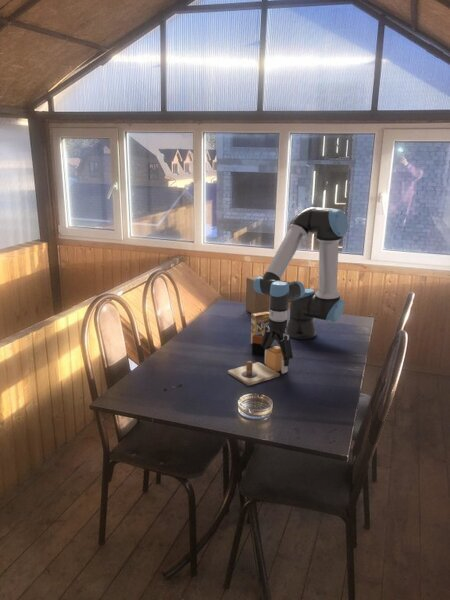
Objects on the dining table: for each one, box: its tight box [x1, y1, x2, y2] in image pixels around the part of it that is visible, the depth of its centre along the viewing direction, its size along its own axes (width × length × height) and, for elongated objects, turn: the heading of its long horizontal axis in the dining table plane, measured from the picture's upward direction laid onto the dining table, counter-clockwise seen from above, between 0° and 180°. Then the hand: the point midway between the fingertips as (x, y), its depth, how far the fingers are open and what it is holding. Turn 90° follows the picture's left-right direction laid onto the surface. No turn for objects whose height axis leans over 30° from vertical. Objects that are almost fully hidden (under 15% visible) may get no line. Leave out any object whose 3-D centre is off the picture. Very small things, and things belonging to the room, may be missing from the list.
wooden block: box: [245, 275, 270, 314], centre depth 284 cm, size 10×10×20 cm
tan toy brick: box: [265, 345, 283, 373], centre depth 211 cm, size 6×6×9 cm
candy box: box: [250, 311, 270, 345], centre depth 237 cm, size 9×4×15 cm, turn 116°
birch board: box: [227, 360, 280, 387], centre depth 205 cm, size 16×14×7 cm
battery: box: [251, 332, 265, 357], centre depth 226 cm, size 4×7×10 cm, turn 65°
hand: (275, 367), depth 212 cm, fingers open, 11 cm apart
